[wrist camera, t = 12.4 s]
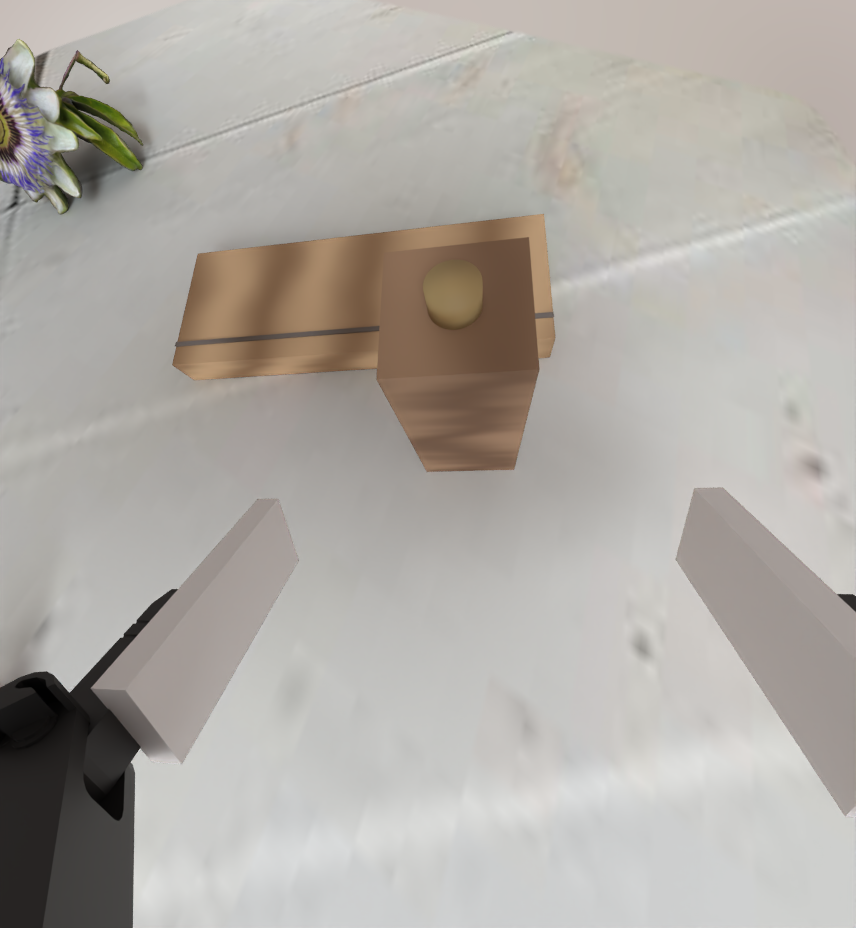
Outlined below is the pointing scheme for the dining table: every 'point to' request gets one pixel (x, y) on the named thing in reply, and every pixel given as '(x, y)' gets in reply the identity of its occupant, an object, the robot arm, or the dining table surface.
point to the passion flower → (52, 129)
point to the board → (321, 300)
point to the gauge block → (460, 351)
